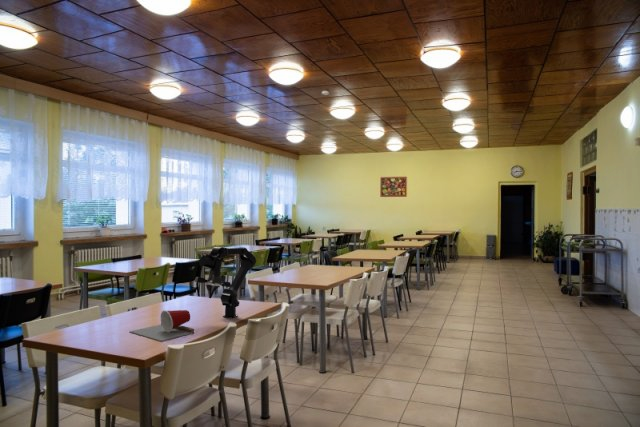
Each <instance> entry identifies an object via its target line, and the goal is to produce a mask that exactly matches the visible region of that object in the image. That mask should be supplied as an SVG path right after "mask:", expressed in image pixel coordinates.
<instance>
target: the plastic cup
mask: <svg viewBox="0 0 640 427" xmlns="http://www.w3.org/2000/svg"><path fill="white" fill-rule="evenodd" d="M190 320H191V313H190V311H189V310H187V309H182V310H180V309H179V310H165V309H163V310H162V311H161V312H160V324H161V323H162V326H163V328H164V330H165V331H166V332H170V331H171V330H172V329H174V328H176V327H178V326H180V325H181V326H183V325H184V324H186V323H188V322H190Z"/></svg>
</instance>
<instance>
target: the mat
mask: <svg viewBox="0 0 640 427" xmlns="http://www.w3.org/2000/svg"><path fill="white" fill-rule="evenodd" d="M128 333H131V334H133V335H134V334H135V335H137V336H141V337H144V338H147V339H151V340H154V341H159V342H160V343H162V342H165V341H170V340H174V339H178V338H181V337H185V336H188V335H189V336H190V335H193V333H190V332H187V331H183V330H179V329H175V328H174V329H172V330H171V331H170V332H166V331H165V330H164V328H163V326H162V325H161V324H157V325H151V326H148V327H144V328H143V327H142V328H139V329H134V330H130V331H129V332H128Z"/></svg>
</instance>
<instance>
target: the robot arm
mask: <svg viewBox="0 0 640 427" xmlns="http://www.w3.org/2000/svg"><path fill="white" fill-rule="evenodd" d="M234 255H236V256H237V255H238V257H239V259H240V267H239V269H238V271H237V273H236V275H235V277H234V278H233V280H232V282H230V281H226V279H227V276H226V275H225V274H222V272H221V271H222V265H223V263H226V260H225V259H224V258H226V257H228V256H234ZM256 264H257V259H256V256H254V254H253V253H252V252H251V251H249V250H248V248H247V247H242V246H239V247H224V246H223V247H222V246H214V247H212V250H210V252H209V253H208V254H202V255H201V257H200V258H199V260H198V265H199V267H201V268H206V269H209V271H208V273H209V274H208V277H207V279H206V278H205V277H199V276H196V277H195V278H194V283H198V284H199V283H200V284H204V286H205V287H206V290H207V294H208V299H211V298H212V297H213V295H214V293H215V292H216V291H217V289H219V288H221V287H226V288H223V291H222V293H220V301H221V305H222V306H225V307H224V315H222V318H227V317H233V316H236V315H237V313H236V312H237V308H238V307H239V306H240V301H239V299H237V298H238V290H239V289H240V287H241V285H242V283H243V282H244V279H245V278H246V275H247V273H248V272H249V271H250V270H251V269H252V268H254V266H255V265H256ZM221 274H222V275H221ZM236 317H237V316H236Z"/></svg>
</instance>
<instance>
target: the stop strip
mask: <svg viewBox="0 0 640 427" xmlns="http://www.w3.org/2000/svg"><path fill="white" fill-rule="evenodd" d="M160 325H162V323H161V322H160ZM175 329H179V330H183V331H187V332H190V333H192V334H194V333H195V328H193V327H189V326H185V325H180V326H178V327H176V328H175Z"/></svg>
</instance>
